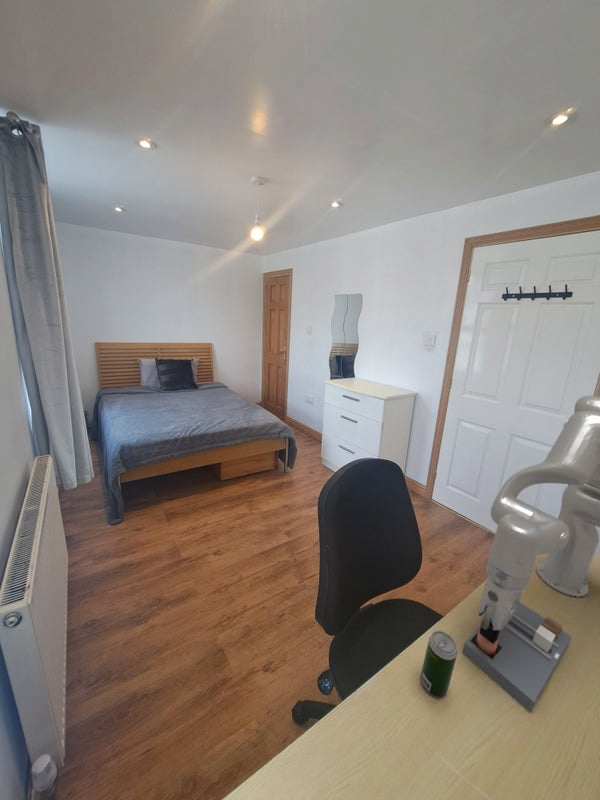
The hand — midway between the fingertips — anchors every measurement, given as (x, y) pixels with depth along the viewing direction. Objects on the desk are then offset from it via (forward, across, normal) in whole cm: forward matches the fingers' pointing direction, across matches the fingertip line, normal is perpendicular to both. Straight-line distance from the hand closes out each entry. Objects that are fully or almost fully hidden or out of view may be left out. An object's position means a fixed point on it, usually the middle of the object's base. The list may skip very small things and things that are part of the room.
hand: (487, 636), depth 73 cm
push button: (+3, 0, 0) cm, 4 cm away
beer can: (+6, -16, +3) cm, 17 cm away
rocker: (+1, +17, -8) cm, 19 cm away
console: (+5, +8, -4) cm, 11 cm away
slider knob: (+2, +11, -8) cm, 14 cm away
